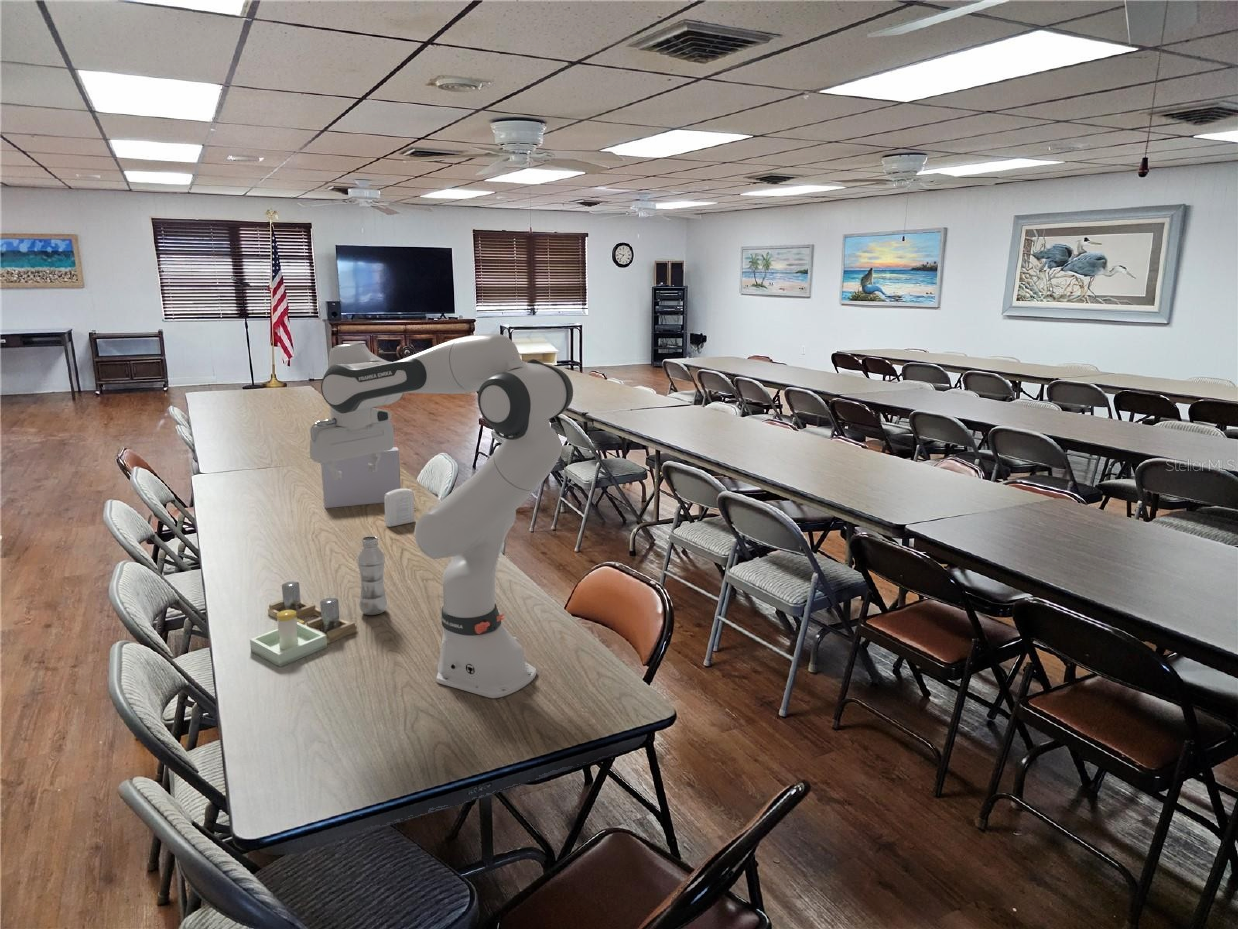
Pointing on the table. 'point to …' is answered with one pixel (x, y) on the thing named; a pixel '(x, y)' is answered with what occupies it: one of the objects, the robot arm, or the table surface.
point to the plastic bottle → (371, 577)
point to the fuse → (287, 629)
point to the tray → (271, 651)
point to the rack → (315, 620)
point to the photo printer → (399, 507)
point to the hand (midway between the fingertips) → (355, 475)
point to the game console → (361, 480)
